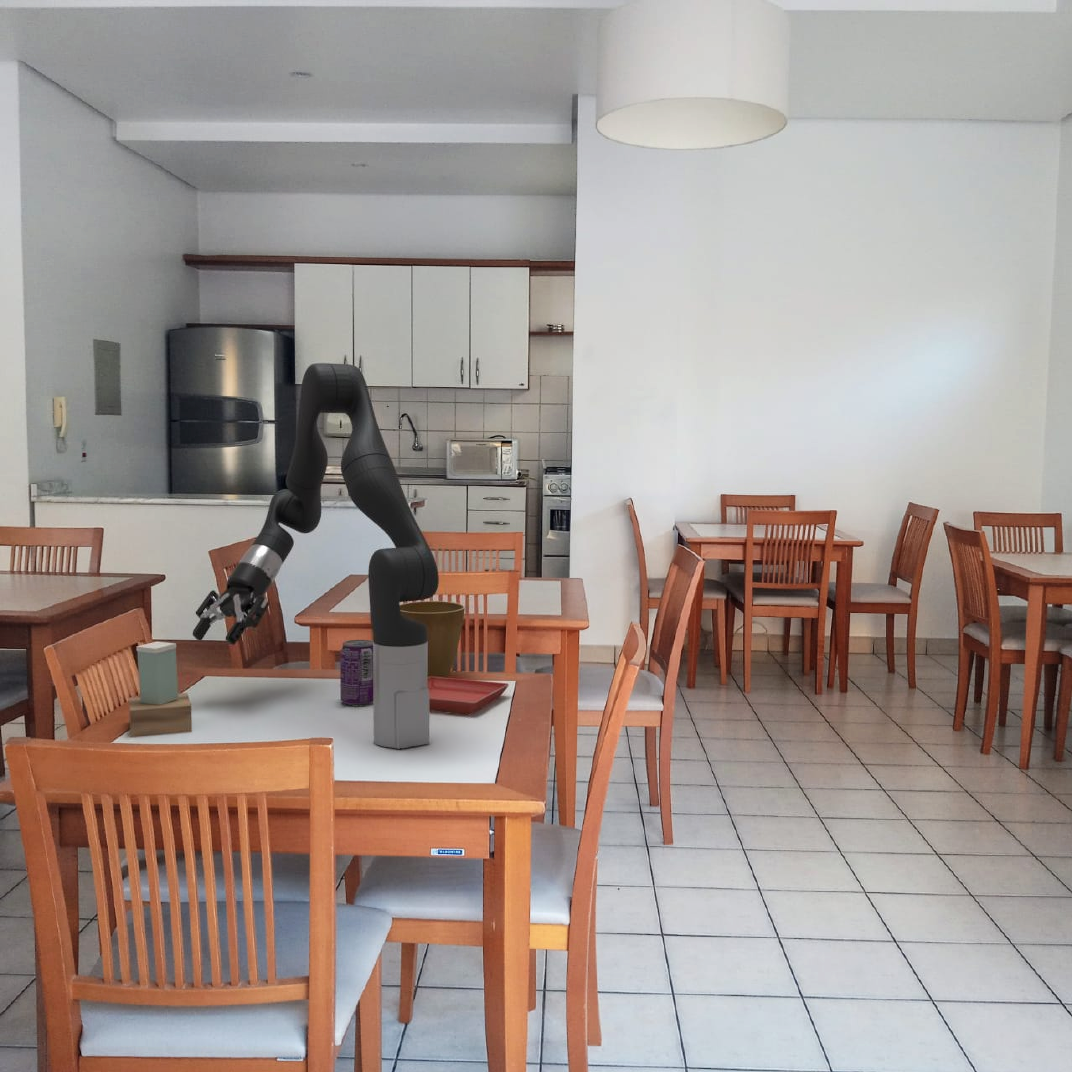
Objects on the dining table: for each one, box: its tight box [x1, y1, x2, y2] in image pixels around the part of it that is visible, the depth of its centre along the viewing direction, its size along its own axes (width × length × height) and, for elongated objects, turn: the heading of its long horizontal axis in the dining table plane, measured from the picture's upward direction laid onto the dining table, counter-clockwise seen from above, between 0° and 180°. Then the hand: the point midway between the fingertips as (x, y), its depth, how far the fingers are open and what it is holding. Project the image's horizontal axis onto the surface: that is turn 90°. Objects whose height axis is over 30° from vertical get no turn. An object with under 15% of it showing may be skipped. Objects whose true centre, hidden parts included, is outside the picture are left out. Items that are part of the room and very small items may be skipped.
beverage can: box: [339, 639, 373, 707], centre depth 202 cm, size 7×7×12 cm
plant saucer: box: [428, 677, 510, 716], centre depth 203 cm, size 18×18×3 cm
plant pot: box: [400, 600, 466, 678], centre depth 223 cm, size 15×15×16 cm
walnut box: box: [128, 692, 193, 738], centre depth 184 cm, size 10×10×5 cm
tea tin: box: [136, 641, 179, 705], centre depth 183 cm, size 5×5×10 cm
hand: (212, 639), depth 194 cm, fingers open, 8 cm apart
